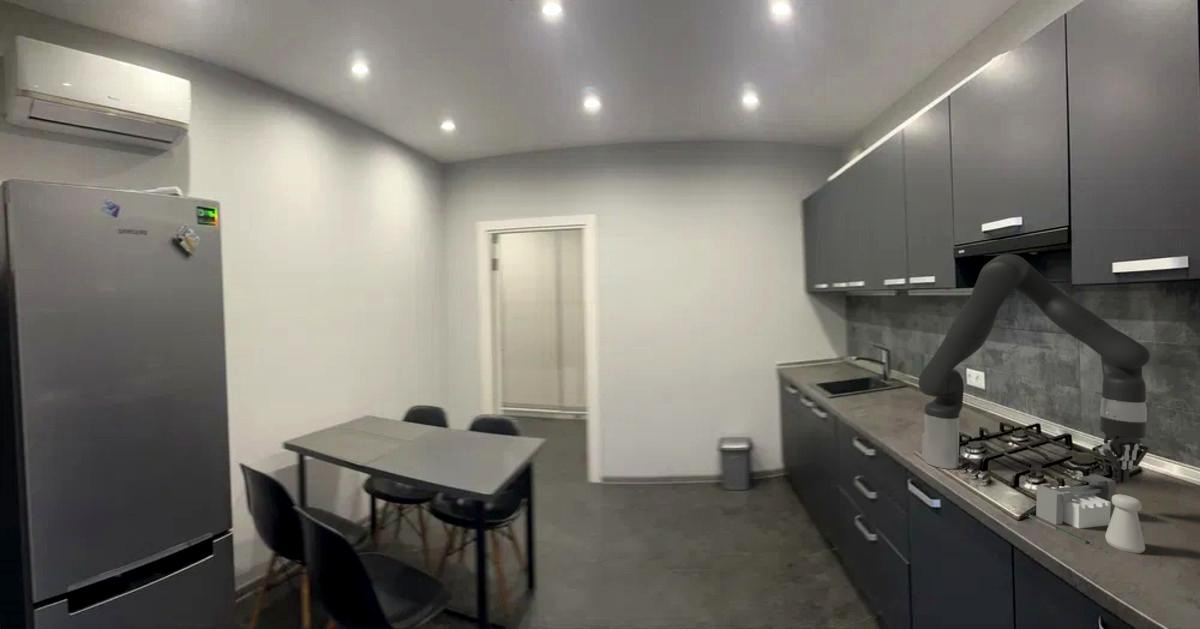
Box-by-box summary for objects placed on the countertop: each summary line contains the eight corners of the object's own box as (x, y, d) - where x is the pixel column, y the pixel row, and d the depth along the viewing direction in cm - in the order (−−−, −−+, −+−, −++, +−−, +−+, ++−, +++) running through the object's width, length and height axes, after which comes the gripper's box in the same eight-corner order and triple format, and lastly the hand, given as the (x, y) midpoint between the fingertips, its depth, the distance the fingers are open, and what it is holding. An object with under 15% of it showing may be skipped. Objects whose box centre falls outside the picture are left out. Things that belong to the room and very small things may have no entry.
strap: (1046, 492, 109) (1046, 487, 109) (1088, 488, 111) (1088, 483, 111) (1060, 498, 106) (1061, 493, 106) (1104, 494, 107) (1104, 488, 107)
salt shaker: (1135, 562, 93) (1137, 505, 92) (1098, 547, 98) (1100, 493, 98) (1151, 556, 95) (1153, 500, 94) (1114, 542, 100) (1115, 489, 99)
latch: (1079, 510, 111) (1080, 475, 111) (1094, 509, 112) (1095, 474, 111) (1099, 519, 107) (1100, 482, 107) (1114, 517, 108) (1115, 480, 107)
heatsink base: (1012, 509, 116) (1012, 475, 115) (1077, 501, 118) (1078, 469, 118) (1084, 543, 100) (1086, 505, 99) (1158, 534, 102) (1160, 496, 102)
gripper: (1119, 422, 104) (1117, 490, 105) (1165, 419, 105) (1163, 486, 106) (1082, 414, 112) (1080, 477, 112) (1125, 410, 113) (1124, 473, 114)
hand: (1120, 481), depth 109 cm, fingers closed
